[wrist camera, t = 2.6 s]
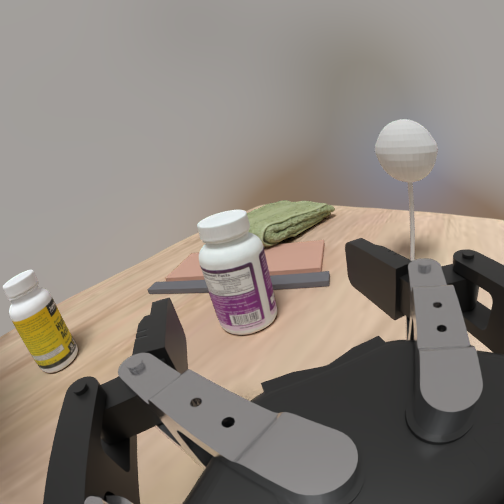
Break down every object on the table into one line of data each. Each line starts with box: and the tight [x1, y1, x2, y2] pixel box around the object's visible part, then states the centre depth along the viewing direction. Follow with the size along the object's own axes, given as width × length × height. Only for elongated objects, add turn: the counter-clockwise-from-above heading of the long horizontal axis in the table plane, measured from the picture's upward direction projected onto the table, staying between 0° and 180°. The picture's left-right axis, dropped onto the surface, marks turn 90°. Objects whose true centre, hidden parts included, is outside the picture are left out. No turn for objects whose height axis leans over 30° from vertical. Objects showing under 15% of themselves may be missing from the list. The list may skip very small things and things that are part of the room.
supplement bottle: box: [3, 270, 78, 373], centre depth 23 cm, size 5×5×10 cm
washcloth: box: [247, 200, 335, 247], centre depth 47 cm, size 13×18×3 cm
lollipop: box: [375, 119, 438, 261], centre depth 24 cm, size 6×6×15 cm
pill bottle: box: [197, 210, 277, 335], centre depth 24 cm, size 5×5×10 cm
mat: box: [148, 240, 330, 294], centre depth 36 cm, size 22×11×1 cm, turn 74°
